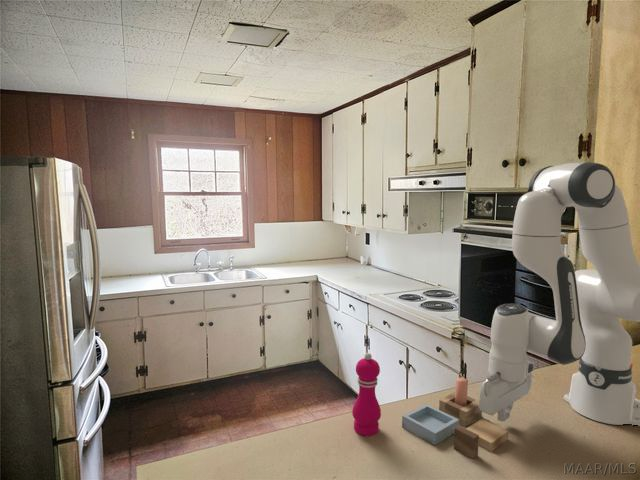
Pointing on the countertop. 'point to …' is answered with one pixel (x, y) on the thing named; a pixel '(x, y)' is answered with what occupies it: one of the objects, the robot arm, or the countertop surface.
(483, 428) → the tan wooden cuboid
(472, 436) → the block
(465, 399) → the dowel
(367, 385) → the pepper mill
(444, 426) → the tray
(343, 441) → the countertop surface
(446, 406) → the socket block
